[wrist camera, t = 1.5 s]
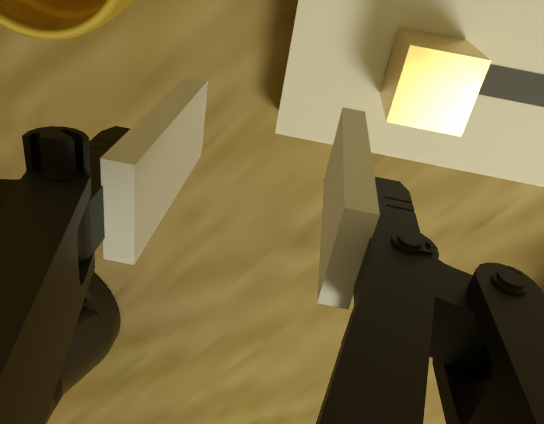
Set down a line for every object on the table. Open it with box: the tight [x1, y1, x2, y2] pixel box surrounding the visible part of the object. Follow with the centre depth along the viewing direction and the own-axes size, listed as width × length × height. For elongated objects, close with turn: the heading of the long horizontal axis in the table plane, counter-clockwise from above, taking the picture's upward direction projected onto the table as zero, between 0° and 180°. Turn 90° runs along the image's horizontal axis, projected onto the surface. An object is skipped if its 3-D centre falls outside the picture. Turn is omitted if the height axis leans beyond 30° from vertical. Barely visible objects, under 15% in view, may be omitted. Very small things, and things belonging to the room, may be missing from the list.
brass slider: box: [380, 27, 491, 136], centre depth 26 cm, size 4×4×5 cm
